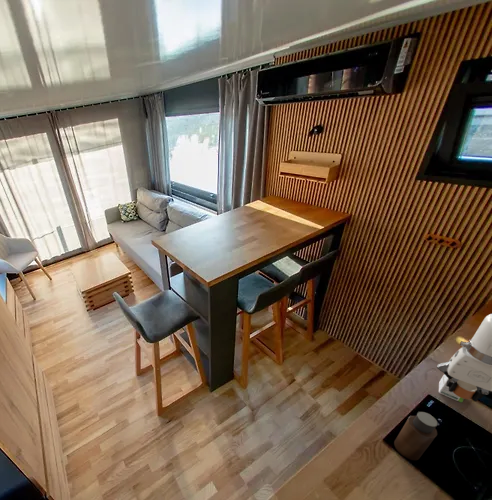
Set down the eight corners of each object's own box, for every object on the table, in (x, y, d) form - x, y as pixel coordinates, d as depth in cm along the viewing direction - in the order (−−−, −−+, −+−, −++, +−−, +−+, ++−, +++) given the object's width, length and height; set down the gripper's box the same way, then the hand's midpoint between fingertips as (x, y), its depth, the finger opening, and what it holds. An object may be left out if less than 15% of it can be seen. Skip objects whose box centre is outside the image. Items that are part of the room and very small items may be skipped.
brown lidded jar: (420, 447, 82) (437, 424, 75) (419, 465, 78) (437, 442, 72) (394, 434, 86) (408, 411, 79) (393, 450, 82) (407, 427, 75)
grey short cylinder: (432, 425, 75) (437, 417, 73) (432, 436, 73) (437, 429, 71) (413, 416, 78) (417, 408, 76) (412, 427, 75) (417, 420, 74)
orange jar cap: (471, 391, 78) (476, 383, 76) (472, 402, 76) (478, 394, 74) (451, 384, 81) (456, 376, 79) (451, 394, 79) (457, 386, 77)
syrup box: (438, 393, 94) (454, 368, 87) (438, 381, 98) (454, 356, 91) (461, 403, 90) (480, 377, 84) (461, 391, 94) (479, 365, 87)
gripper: (443, 347, 73) (422, 386, 82) (546, 379, 62) (508, 420, 71) (443, 331, 78) (422, 369, 86) (539, 358, 66) (504, 399, 75)
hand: (461, 392), depth 78 cm, fingers closed on orange jar cap, 4 cm apart
